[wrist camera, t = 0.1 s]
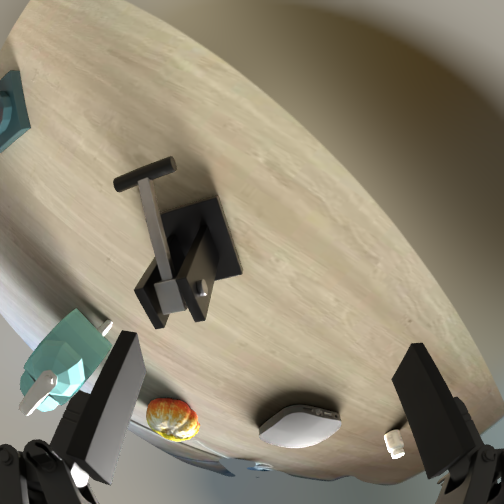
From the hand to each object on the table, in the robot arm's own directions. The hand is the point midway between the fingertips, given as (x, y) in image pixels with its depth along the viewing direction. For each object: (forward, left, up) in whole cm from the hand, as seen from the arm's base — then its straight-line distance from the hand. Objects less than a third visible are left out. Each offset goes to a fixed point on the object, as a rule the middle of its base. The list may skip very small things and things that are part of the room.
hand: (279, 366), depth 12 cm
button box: (-14, -38, -23) cm, 46 cm away
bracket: (+5, -8, -23) cm, 24 cm away
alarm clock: (+22, -28, -23) cm, 42 cm away
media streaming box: (+45, +12, -23) cm, 52 cm away
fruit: (+42, -14, -23) cm, 49 cm away
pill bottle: (+56, +40, -23) cm, 72 cm away
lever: (0, -9, -15) cm, 17 cm away
